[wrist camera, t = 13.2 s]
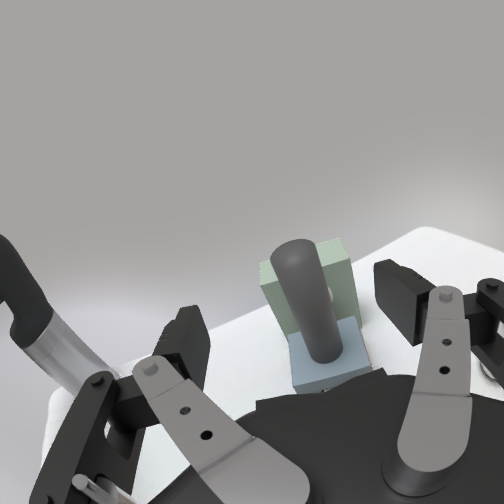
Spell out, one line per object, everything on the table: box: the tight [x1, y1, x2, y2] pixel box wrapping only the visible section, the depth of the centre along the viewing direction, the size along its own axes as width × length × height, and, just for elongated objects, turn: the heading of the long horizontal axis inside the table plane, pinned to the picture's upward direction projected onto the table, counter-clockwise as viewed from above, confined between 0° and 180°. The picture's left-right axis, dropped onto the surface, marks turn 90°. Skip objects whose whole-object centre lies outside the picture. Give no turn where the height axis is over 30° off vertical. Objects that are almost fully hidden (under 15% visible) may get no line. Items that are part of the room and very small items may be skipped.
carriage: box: [270, 239, 371, 394], centre depth 25 cm, size 8×7×17 cm
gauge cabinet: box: [260, 237, 362, 343], centre depth 33 cm, size 10×5×12 cm, turn 90°
